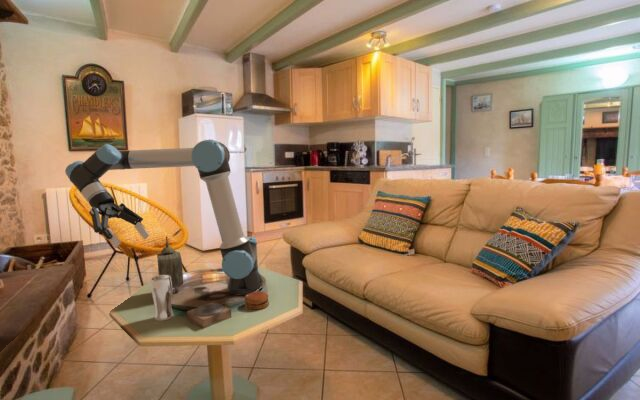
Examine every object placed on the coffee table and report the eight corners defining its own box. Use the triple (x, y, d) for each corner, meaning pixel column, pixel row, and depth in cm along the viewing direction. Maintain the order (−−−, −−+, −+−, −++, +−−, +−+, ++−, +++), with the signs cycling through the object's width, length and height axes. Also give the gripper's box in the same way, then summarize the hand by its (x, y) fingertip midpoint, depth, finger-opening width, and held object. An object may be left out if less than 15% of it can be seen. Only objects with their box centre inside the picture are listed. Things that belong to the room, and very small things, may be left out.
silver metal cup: (162, 323, 126) (158, 281, 124) (149, 319, 130) (146, 279, 128) (178, 315, 132) (175, 275, 130) (166, 311, 136) (163, 273, 134)
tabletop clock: (160, 290, 159) (155, 234, 156) (182, 286, 163) (177, 232, 160) (160, 301, 146) (155, 241, 143) (184, 297, 150) (180, 238, 147)
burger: (271, 308, 136) (270, 296, 136) (246, 312, 133) (245, 300, 133) (266, 298, 146) (266, 287, 145) (243, 302, 143) (242, 291, 142)
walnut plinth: (214, 309, 137) (214, 300, 136) (231, 317, 129) (230, 308, 129) (187, 319, 128) (186, 310, 128) (203, 328, 121) (202, 319, 121)
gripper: (120, 200, 145) (152, 240, 143) (60, 208, 121) (98, 255, 119) (130, 188, 143) (163, 228, 141) (72, 193, 119) (110, 241, 117)
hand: (133, 240), depth 130 cm, fingers open, 13 cm apart
